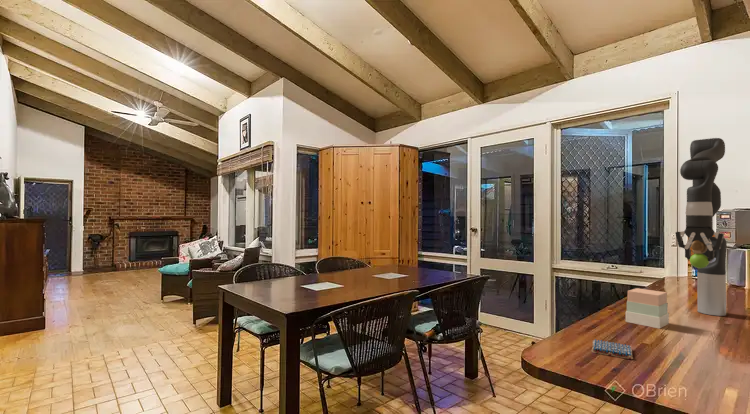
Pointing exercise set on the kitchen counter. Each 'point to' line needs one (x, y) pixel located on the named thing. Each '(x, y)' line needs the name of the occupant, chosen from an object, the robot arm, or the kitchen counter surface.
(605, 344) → the woven mat
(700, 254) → the snail figurine
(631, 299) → the stacked pastel boxes
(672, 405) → the kitchen counter surface
